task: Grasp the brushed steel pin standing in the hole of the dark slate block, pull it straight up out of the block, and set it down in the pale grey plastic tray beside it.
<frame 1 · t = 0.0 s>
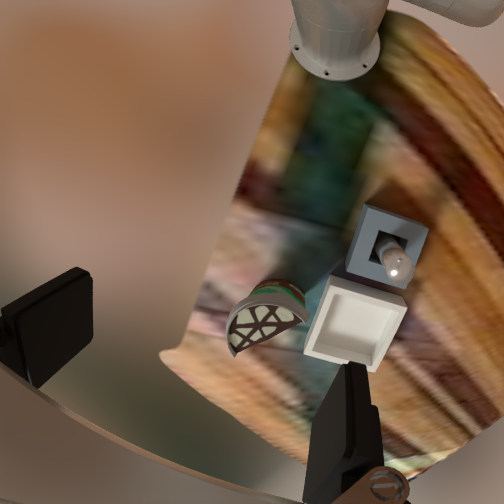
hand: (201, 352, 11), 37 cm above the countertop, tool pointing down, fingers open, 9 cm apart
steel pin: (391, 254, 38), in the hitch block
parts tray: (353, 319, 48), on the countertop
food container: (268, 292, 50), on the countertop
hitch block: (383, 242, 44), on the countertop
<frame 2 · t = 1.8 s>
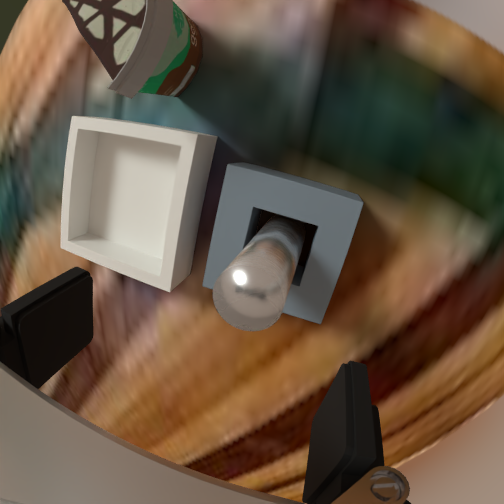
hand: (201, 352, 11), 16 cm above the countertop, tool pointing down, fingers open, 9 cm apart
steel pin: (271, 256, 20), in the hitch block
parts tray: (140, 191, 27), on the countertop
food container: (178, 38, 22), on the countertop
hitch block: (285, 233, 25), on the countertop
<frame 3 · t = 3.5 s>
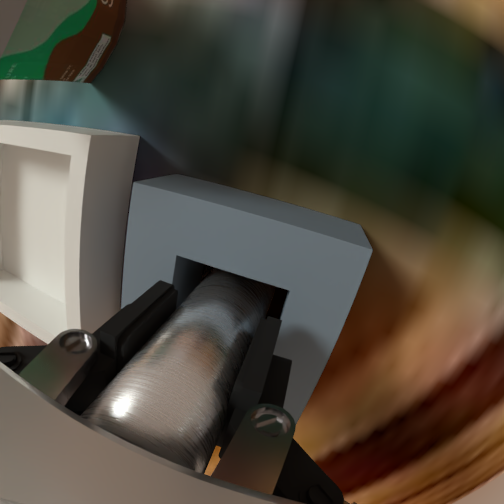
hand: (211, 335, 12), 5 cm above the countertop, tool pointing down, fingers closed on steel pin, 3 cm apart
steel pin: (202, 350, 11), in the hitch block, touching gripper
parts tray: (52, 218, 18), on the countertop
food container: (98, 4, 13), on the countertop
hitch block: (243, 283, 16), on the countertop
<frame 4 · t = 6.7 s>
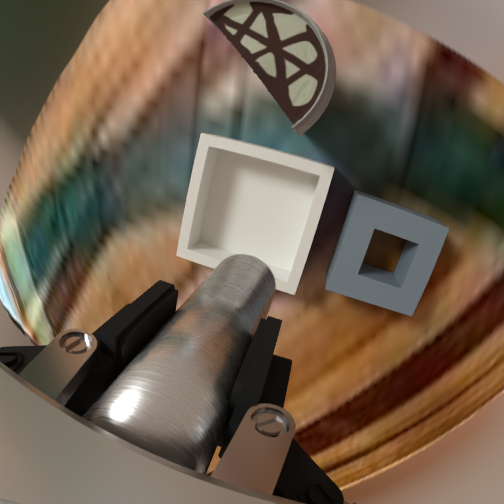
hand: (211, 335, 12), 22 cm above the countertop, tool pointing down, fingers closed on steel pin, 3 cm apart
steel pin: (203, 351, 11), point 23 cm above the countertop, touching gripper
parts tray: (258, 207, 32), on the countertop
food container: (296, 73, 28), on the countertop
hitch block: (382, 246, 31), on the countertop
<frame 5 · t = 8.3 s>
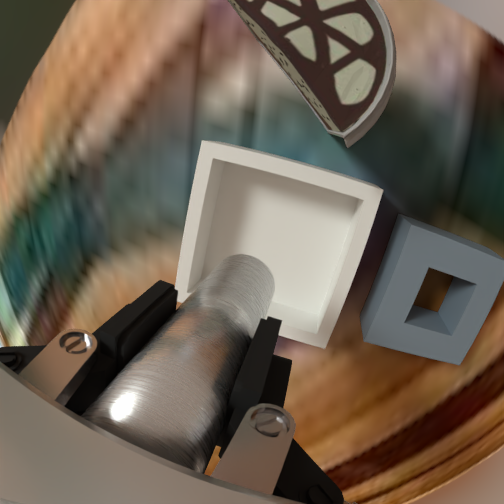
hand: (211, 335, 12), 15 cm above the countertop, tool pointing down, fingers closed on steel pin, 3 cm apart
steel pin: (202, 351, 11), point 16 cm above the countertop, touching gripper
parts tray: (276, 235, 25), on the countertop
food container: (325, 63, 21), on the countertop
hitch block: (427, 282, 24), on the countertop
when the fingers open (7 cm above the countertop, at t = 9.8 s): steel pin drops 1 cm, resting on parts tray.
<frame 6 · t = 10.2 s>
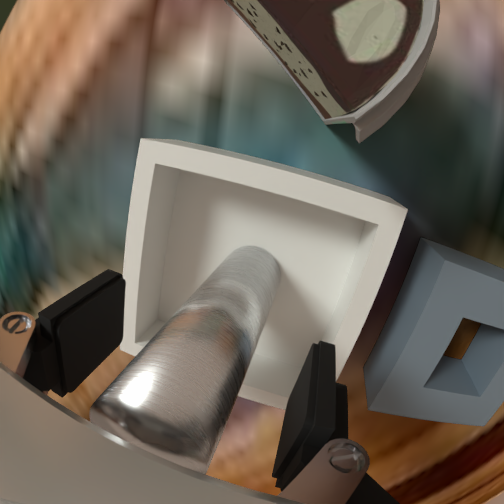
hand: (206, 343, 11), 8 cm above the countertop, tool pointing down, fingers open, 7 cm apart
steel pin: (217, 329, 12), in the parts tray, point 7 cm above the countertop
parts tray: (253, 267, 19), on the countertop
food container: (319, 29, 14), on the countertop
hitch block: (452, 325, 17), on the countertop
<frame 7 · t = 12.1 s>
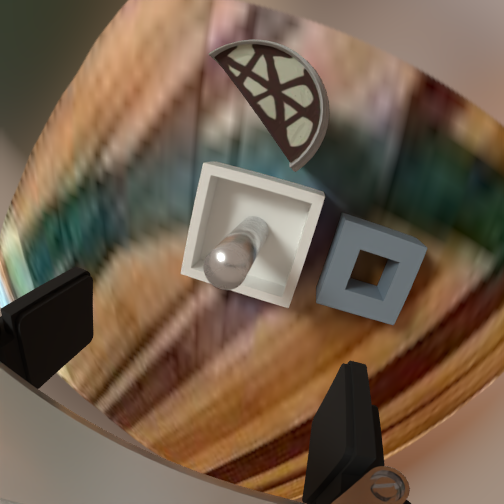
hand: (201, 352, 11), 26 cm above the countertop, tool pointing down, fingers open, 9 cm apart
steel pin: (241, 246, 29), in the parts tray, point 7 cm above the countertop
parts tray: (254, 228, 36), on the countertop
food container: (290, 104, 31), on the countertop
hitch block: (366, 263, 34), on the countertop
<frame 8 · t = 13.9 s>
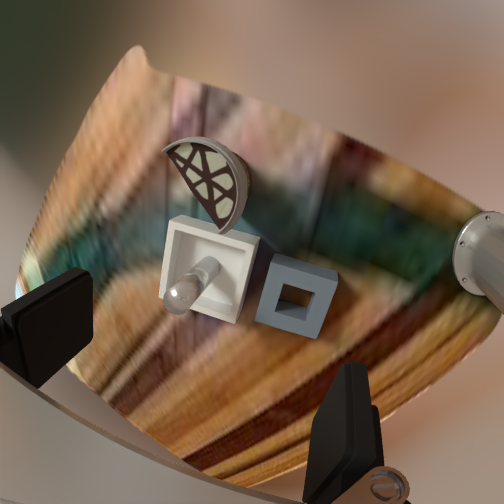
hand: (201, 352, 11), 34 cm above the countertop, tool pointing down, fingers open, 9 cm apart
steel pin: (194, 282, 41), in the parts tray, point 7 cm above the countertop
parts tray: (211, 264, 48), on the countertop
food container: (234, 170, 43), on the countertop
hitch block: (297, 290, 46), on the countertop
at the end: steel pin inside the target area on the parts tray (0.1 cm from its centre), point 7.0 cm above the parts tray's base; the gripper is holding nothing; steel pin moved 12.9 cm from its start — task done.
